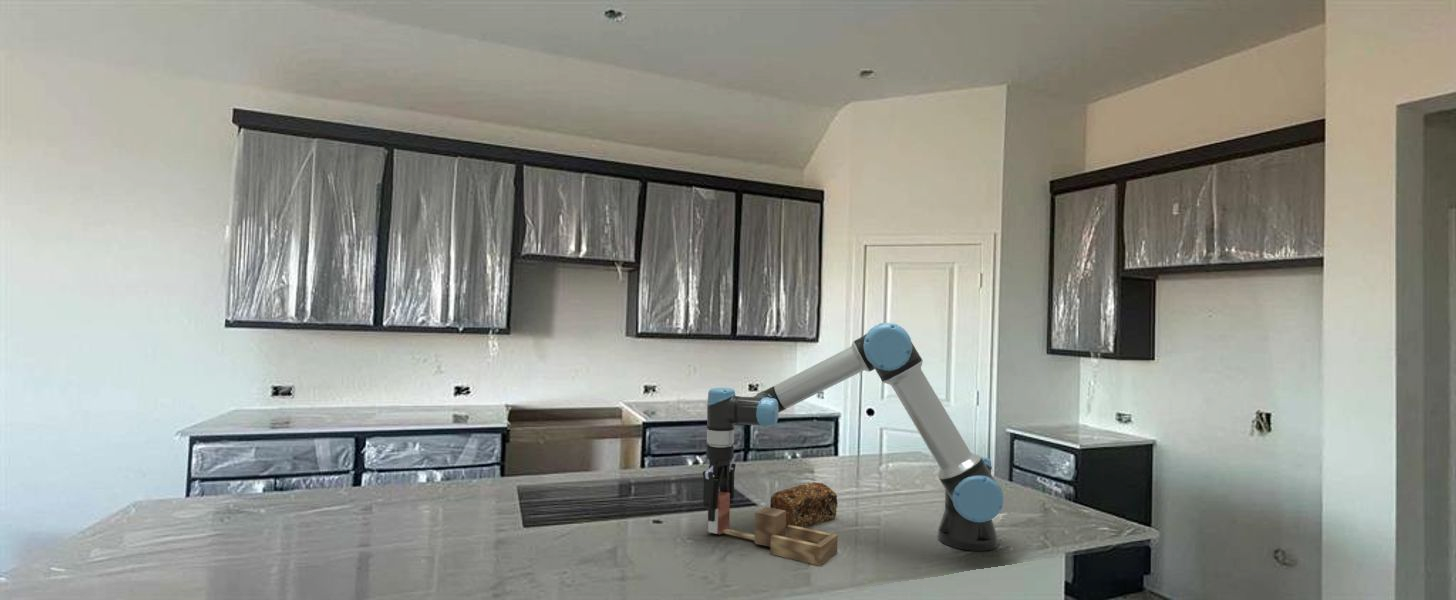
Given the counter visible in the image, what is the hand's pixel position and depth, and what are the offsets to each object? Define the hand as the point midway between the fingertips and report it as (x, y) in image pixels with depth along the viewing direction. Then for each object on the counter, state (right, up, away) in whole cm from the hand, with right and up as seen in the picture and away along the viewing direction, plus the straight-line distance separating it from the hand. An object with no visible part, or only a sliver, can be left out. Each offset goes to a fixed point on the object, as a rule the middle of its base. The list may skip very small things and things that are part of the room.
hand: (718, 529), depth 175 cm
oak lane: (+21, -1, -13) cm, 25 cm away
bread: (+25, -2, +13) cm, 28 cm away
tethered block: (+7, 0, -4) cm, 9 cm away
